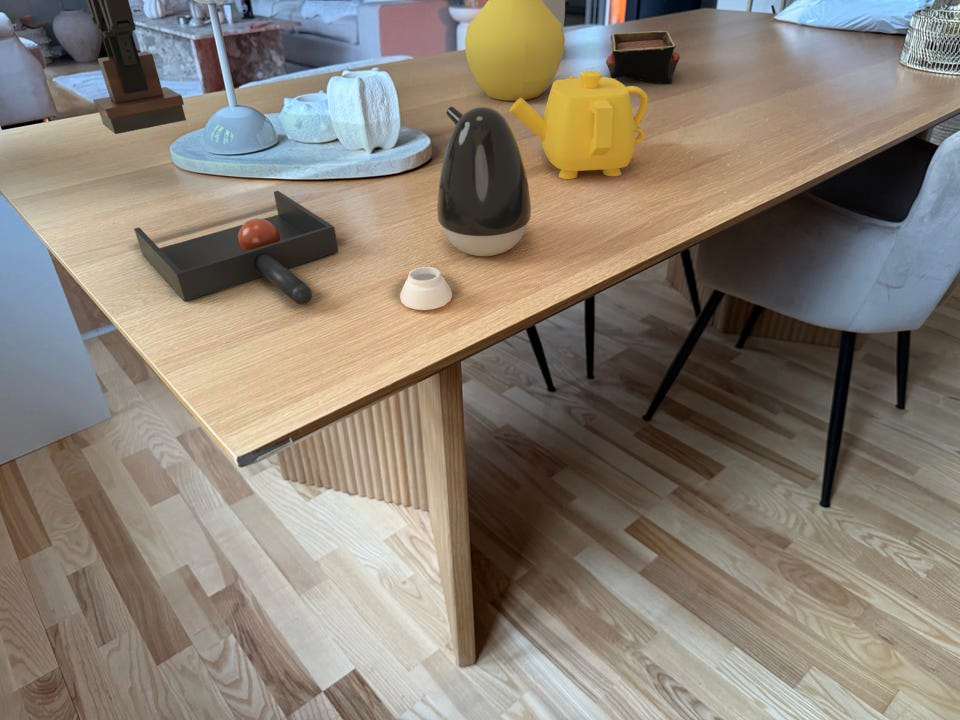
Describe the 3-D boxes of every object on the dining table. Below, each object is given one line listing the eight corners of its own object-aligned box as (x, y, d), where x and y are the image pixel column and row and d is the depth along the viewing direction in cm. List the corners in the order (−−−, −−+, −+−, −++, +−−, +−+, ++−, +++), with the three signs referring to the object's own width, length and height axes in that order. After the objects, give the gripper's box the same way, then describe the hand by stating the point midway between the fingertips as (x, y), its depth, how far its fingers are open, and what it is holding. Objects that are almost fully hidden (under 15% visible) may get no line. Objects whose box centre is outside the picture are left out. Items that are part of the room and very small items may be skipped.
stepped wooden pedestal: (101, 124, 92) (79, 58, 88) (172, 111, 97) (155, 47, 92) (114, 135, 88) (91, 65, 83) (188, 120, 92) (170, 54, 88)
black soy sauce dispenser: (487, 220, 85) (484, 89, 76) (549, 246, 78) (553, 106, 69) (420, 245, 79) (409, 107, 71) (480, 276, 73) (476, 128, 64)
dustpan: (142, 254, 79) (133, 228, 77) (282, 214, 88) (277, 190, 86) (222, 345, 63) (214, 314, 61) (385, 285, 72) (382, 257, 70)
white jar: (404, 316, 66) (456, 309, 67) (401, 289, 65) (454, 282, 65) (398, 292, 70) (447, 285, 71) (395, 265, 69) (445, 259, 69)
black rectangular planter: (600, 95, 139) (607, 43, 132) (607, 61, 152) (614, 12, 145) (673, 102, 137) (684, 50, 130) (674, 67, 150) (684, 18, 143)
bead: (257, 269, 75) (245, 263, 78) (292, 250, 76) (279, 245, 80) (237, 232, 72) (225, 227, 76) (274, 213, 74) (261, 210, 78)
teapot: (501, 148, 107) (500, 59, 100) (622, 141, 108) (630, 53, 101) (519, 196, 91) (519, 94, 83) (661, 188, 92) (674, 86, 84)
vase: (509, 113, 123) (508, -88, 106) (447, 94, 135) (437, -89, 118) (582, 94, 132) (592, -93, 115) (518, 78, 144) (519, -93, 127)
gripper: (121, -139, 73) (182, 94, 86) (85, -133, 83) (145, 74, 97) (42, -138, 69) (118, 105, 83) (15, -132, 80) (87, 83, 93)
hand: (132, 88), depth 90 cm, fingers closed on stepped wooden pedestal, 2 cm apart
